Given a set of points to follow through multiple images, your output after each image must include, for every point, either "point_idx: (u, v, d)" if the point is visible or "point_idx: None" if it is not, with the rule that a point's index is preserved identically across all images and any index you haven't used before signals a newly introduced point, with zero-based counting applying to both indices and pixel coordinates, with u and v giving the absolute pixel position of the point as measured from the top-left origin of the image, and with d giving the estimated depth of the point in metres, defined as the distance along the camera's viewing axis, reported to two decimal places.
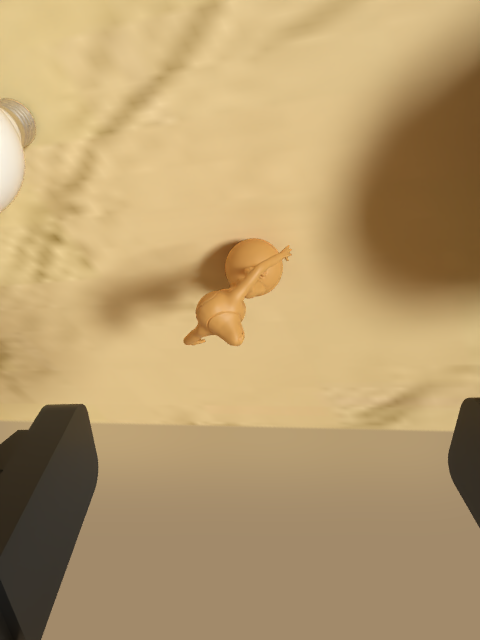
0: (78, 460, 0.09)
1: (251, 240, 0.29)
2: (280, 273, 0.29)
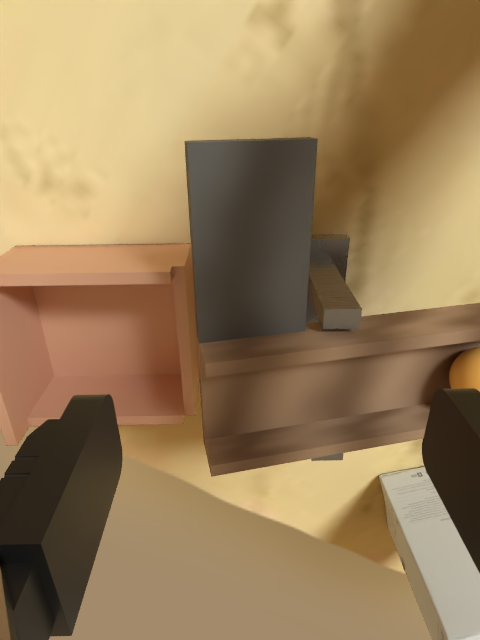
0: (106, 448, 0.09)
1: None
2: None
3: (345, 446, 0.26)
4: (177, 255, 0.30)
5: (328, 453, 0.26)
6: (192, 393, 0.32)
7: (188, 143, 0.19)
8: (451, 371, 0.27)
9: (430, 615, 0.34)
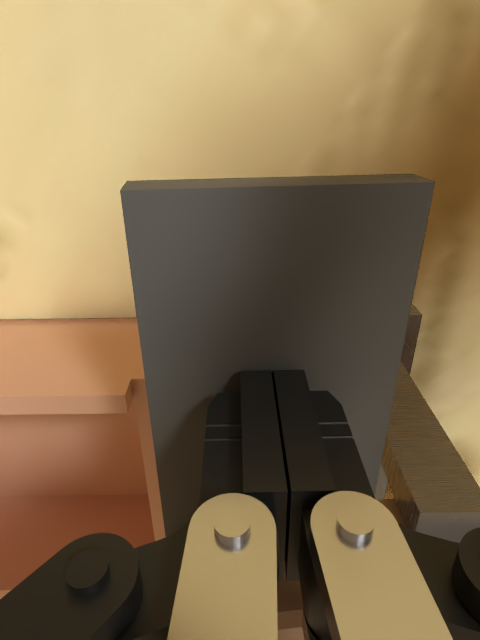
0: None
1: None
2: None
3: None
4: None
5: None
6: None
7: (124, 191, 0.08)
8: None
9: None
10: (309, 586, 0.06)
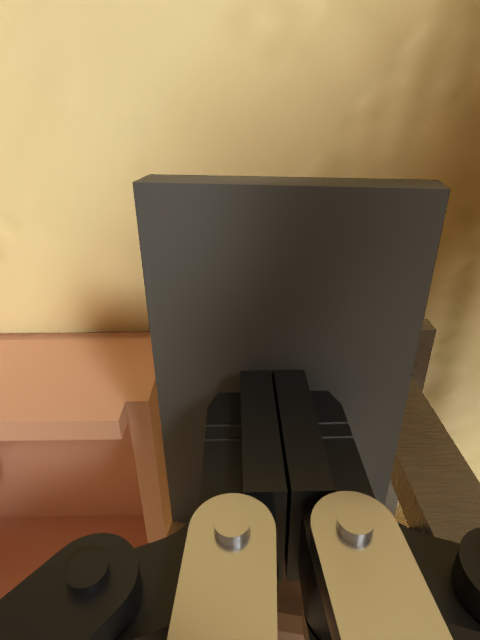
0: None
1: None
2: None
3: None
4: (140, 366, 0.17)
5: None
6: None
7: (136, 183, 0.09)
8: None
9: None
10: (309, 586, 0.06)
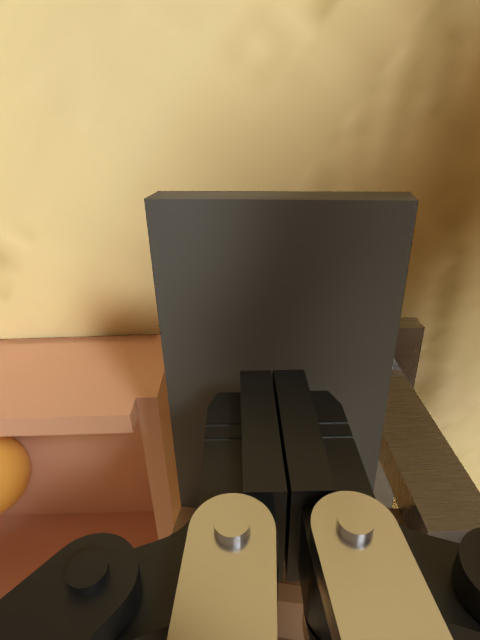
0: None
1: None
2: None
3: None
4: (148, 366, 0.18)
5: None
6: None
7: (147, 200, 0.10)
8: None
9: None
10: (309, 586, 0.06)
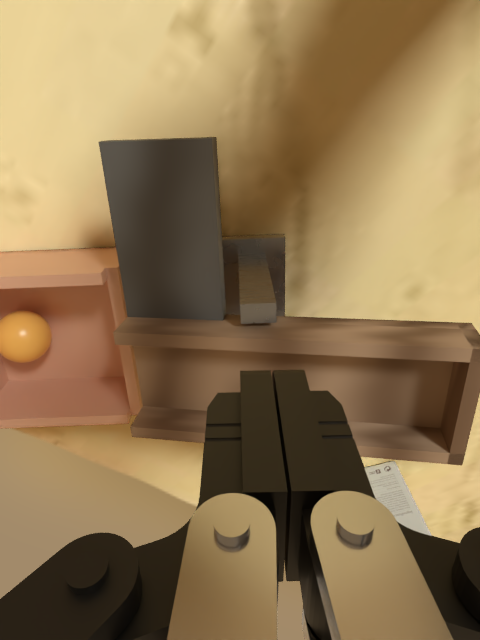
0: None
1: None
2: None
3: None
4: (114, 257, 0.30)
5: None
6: (137, 393, 0.33)
7: (100, 142, 0.22)
8: None
9: None
10: (309, 586, 0.06)
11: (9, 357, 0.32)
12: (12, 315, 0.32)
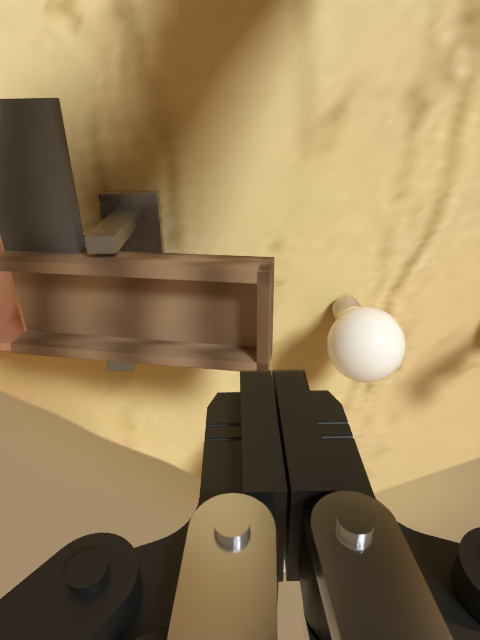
0: None
1: None
2: None
3: (110, 355, 0.32)
4: None
5: (98, 358, 0.33)
6: None
7: None
8: None
9: None
10: (309, 586, 0.06)
11: None
12: None
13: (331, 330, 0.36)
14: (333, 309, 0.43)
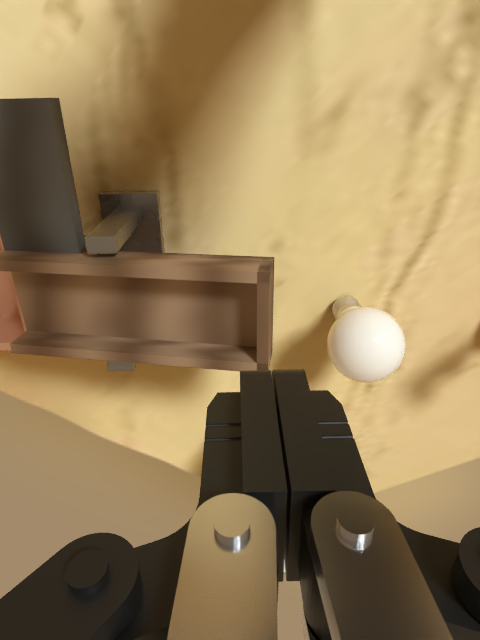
0: None
1: None
2: None
3: (110, 355, 0.32)
4: None
5: (97, 358, 0.33)
6: None
7: None
8: None
9: None
10: (309, 586, 0.06)
11: None
12: None
13: (331, 330, 0.36)
14: (333, 309, 0.43)
